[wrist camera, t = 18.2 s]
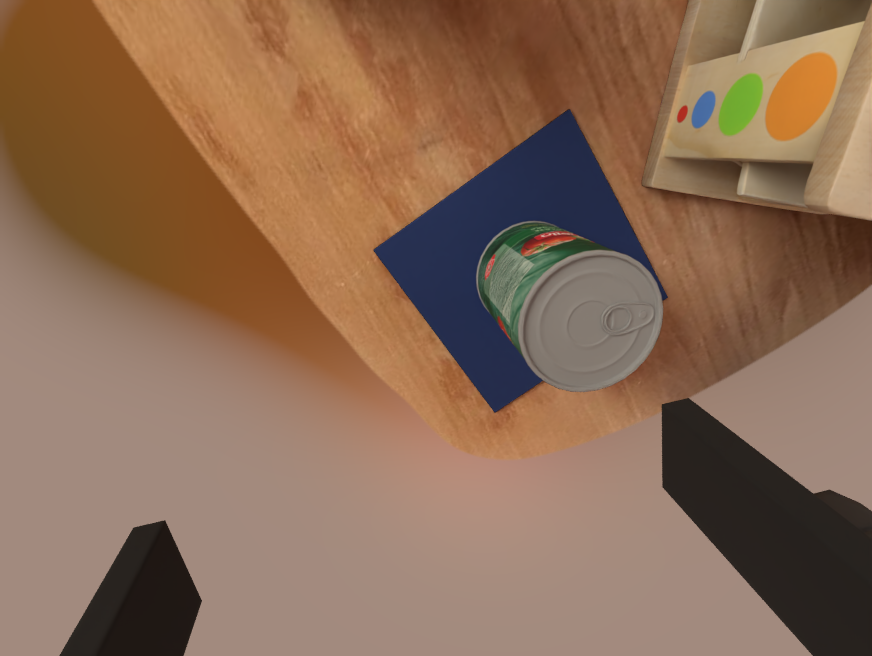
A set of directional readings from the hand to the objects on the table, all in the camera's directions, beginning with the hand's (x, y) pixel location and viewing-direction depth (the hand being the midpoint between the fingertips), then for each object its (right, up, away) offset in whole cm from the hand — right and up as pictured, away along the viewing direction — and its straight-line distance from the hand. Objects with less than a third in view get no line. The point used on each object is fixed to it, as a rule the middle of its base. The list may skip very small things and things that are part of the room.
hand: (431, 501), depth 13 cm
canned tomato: (+7, +8, +24) cm, 26 cm away
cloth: (+7, +8, +24) cm, 26 cm away
